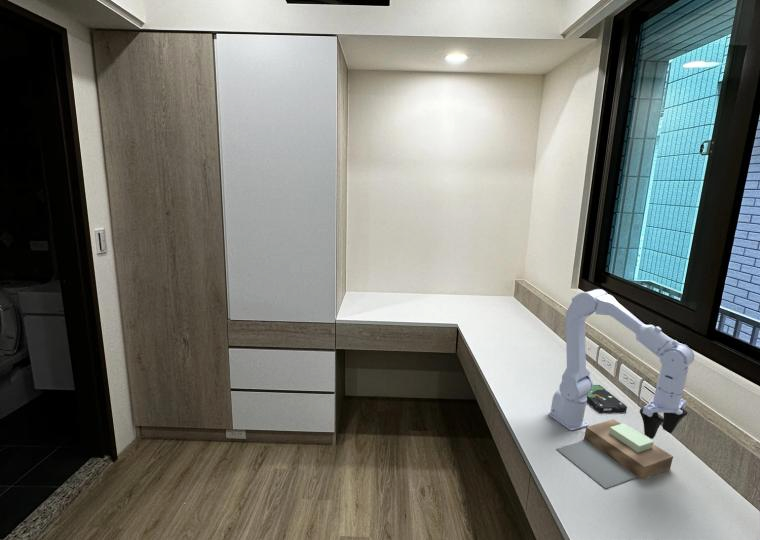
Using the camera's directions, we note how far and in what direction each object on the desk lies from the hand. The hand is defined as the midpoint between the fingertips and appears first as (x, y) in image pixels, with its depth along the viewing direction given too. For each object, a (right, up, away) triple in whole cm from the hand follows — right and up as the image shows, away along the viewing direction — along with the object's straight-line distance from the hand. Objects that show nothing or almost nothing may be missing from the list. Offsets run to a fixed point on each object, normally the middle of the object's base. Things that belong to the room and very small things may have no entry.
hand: (658, 433), depth 111 cm
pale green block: (-4, -4, +6) cm, 8 cm away
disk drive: (+2, -3, +34) cm, 35 cm away
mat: (-16, -9, +2) cm, 19 cm away
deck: (-5, -8, +7) cm, 12 cm away
